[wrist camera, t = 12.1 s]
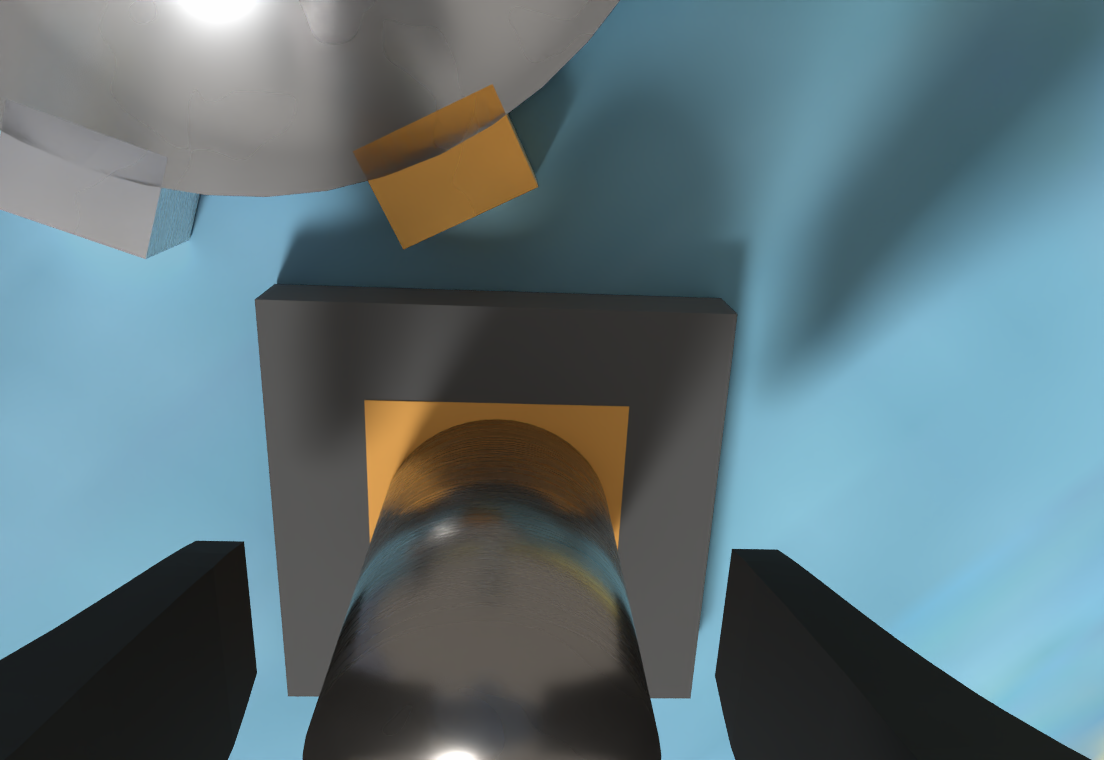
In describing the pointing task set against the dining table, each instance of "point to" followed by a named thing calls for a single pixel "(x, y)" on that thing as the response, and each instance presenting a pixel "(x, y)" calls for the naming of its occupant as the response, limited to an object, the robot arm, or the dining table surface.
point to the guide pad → (484, 394)
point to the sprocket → (270, 106)
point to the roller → (488, 614)
